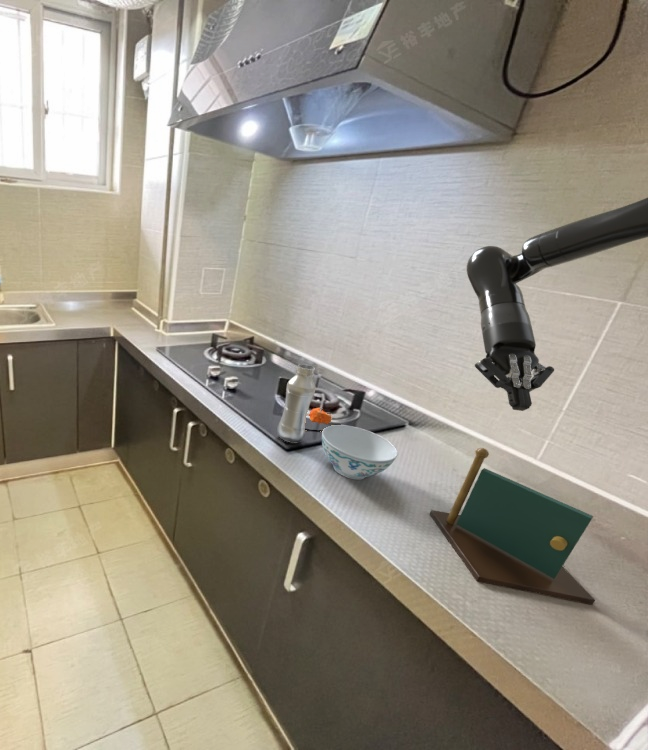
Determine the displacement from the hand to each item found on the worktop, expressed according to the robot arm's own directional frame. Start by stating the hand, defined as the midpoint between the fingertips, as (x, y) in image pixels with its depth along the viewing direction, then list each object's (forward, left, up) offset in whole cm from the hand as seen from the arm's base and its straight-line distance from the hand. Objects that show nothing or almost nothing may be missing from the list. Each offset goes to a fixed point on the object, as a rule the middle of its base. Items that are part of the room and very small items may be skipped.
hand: (521, 409), depth 73 cm
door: (+5, +16, -20) cm, 26 cm away
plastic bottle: (+36, -14, -22) cm, 45 cm away
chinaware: (+24, -4, -22) cm, 33 cm away
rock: (+26, -28, -22) cm, 44 cm away
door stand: (+4, +15, -22) cm, 27 cm away
